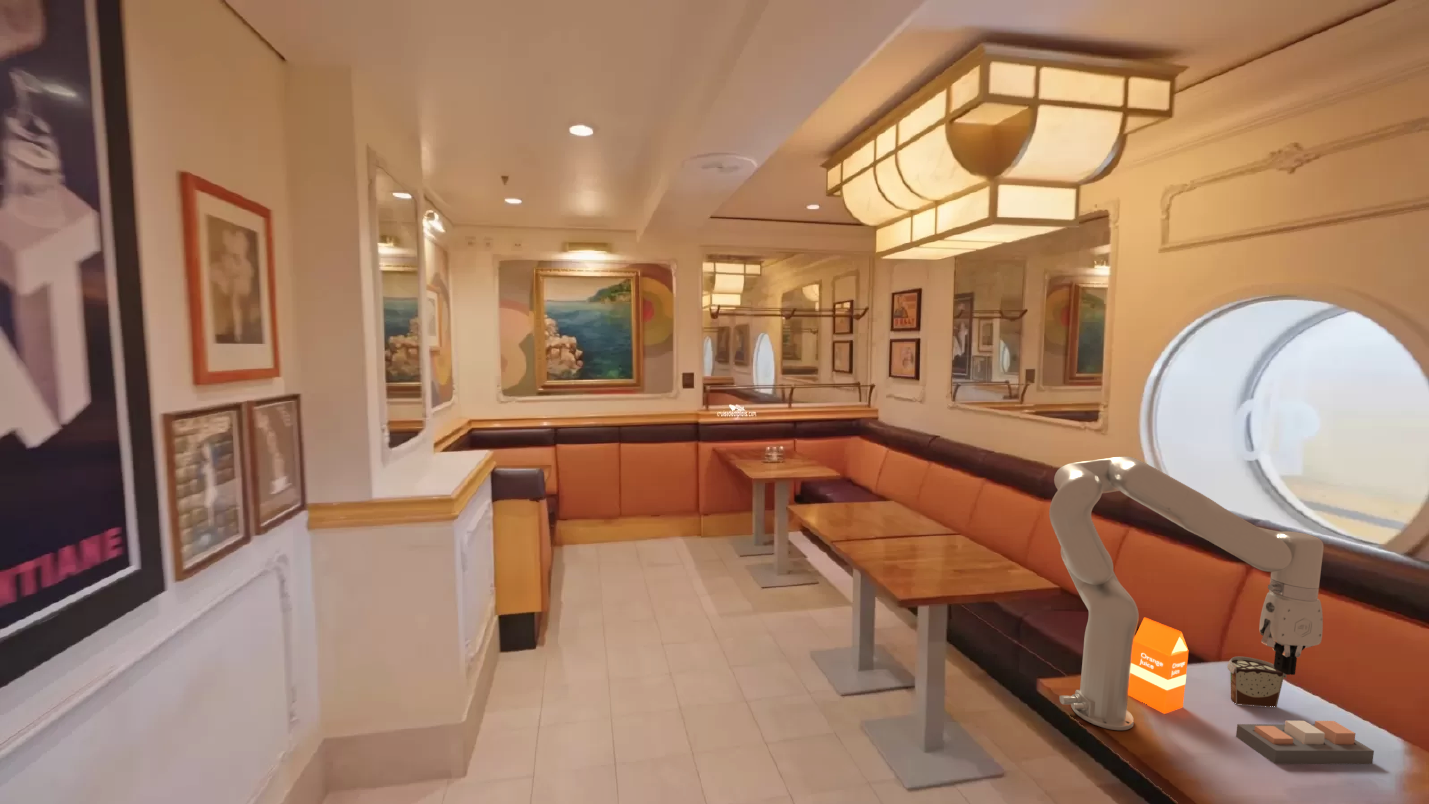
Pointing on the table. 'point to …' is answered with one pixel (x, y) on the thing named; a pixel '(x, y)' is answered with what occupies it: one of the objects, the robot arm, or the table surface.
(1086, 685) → the robot arm
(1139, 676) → the orange juice
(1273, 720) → the table surface
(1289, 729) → the middle button
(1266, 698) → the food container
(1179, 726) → the table surface
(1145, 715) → the table surface
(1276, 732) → the inner button
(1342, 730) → the outer button
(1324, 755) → the control panel
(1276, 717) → the table surface
